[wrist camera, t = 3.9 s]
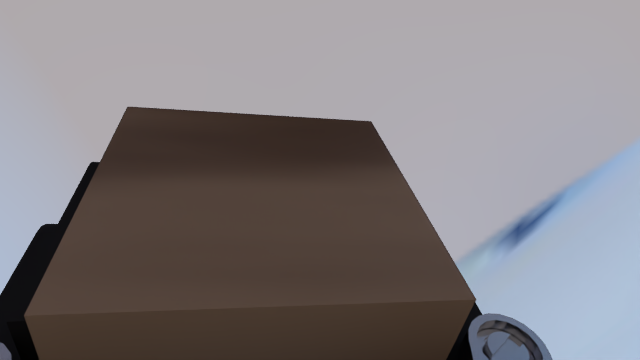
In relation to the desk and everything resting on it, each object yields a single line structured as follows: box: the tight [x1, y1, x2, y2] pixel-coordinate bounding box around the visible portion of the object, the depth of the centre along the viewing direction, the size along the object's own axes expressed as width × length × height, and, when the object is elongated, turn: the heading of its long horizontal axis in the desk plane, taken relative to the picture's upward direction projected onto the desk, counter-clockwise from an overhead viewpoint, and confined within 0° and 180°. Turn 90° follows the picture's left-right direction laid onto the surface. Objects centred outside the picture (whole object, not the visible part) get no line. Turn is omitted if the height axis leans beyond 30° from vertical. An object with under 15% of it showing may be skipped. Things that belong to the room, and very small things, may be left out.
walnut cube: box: [24, 107, 476, 360], centre depth 8 cm, size 5×5×5 cm
